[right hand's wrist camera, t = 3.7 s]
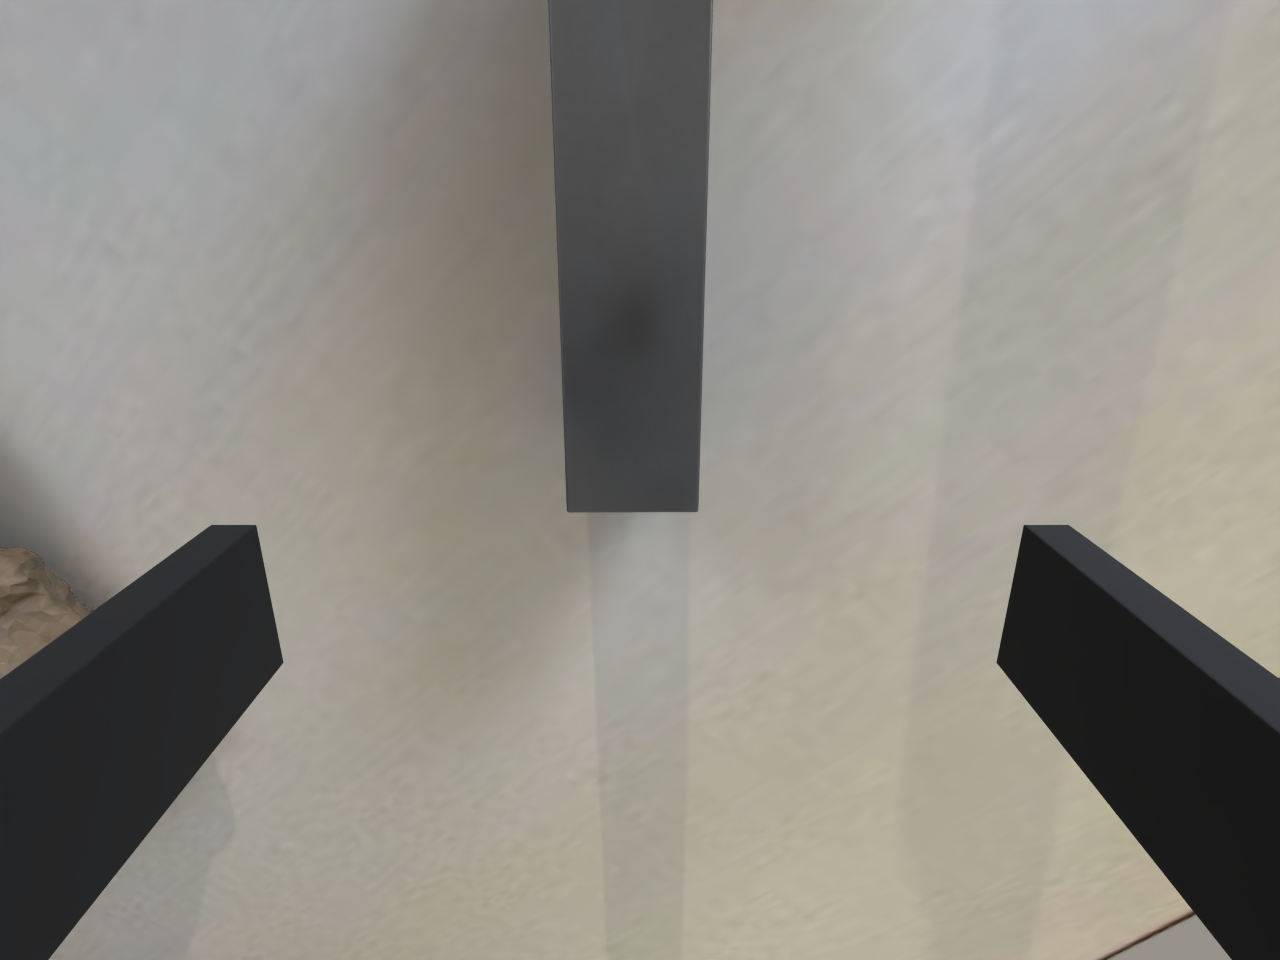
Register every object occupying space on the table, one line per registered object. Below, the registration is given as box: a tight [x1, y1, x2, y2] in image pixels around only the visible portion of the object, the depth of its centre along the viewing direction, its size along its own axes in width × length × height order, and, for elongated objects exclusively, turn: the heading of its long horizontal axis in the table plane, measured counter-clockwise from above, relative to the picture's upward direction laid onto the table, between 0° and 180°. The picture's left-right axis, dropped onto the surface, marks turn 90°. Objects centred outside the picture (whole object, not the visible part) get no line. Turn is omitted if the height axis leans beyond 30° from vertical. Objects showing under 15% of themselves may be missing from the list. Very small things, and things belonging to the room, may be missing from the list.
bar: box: [548, 0, 713, 512], centre depth 26 cm, size 25×5×9 cm, turn 0°
